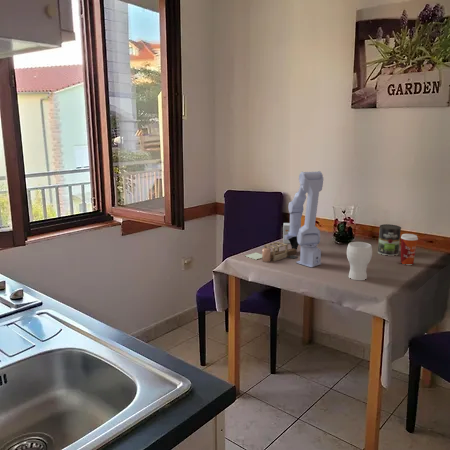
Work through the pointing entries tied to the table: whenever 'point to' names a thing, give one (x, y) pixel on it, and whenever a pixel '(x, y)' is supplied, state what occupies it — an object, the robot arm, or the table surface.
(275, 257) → the wooden ladder stand
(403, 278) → the table surface
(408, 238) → the paper cup
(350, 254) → the cup
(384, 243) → the coffee can
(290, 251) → the rod
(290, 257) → the mat
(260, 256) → the pad
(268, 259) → the cylinder
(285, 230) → the small box
